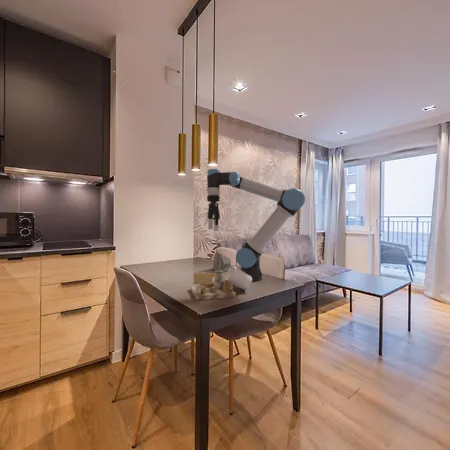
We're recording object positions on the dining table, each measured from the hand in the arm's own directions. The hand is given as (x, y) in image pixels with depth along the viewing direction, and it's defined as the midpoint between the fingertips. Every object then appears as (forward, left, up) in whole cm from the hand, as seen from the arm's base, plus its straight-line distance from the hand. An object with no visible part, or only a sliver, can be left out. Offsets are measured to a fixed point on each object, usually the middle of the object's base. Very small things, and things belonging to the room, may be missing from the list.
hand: (213, 230), depth 155 cm
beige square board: (+6, +22, -32) cm, 39 cm away
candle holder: (-14, +22, -28) cm, 39 cm away
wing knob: (+12, +27, -29) cm, 42 cm away
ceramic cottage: (-16, -29, -32) cm, 46 cm away
